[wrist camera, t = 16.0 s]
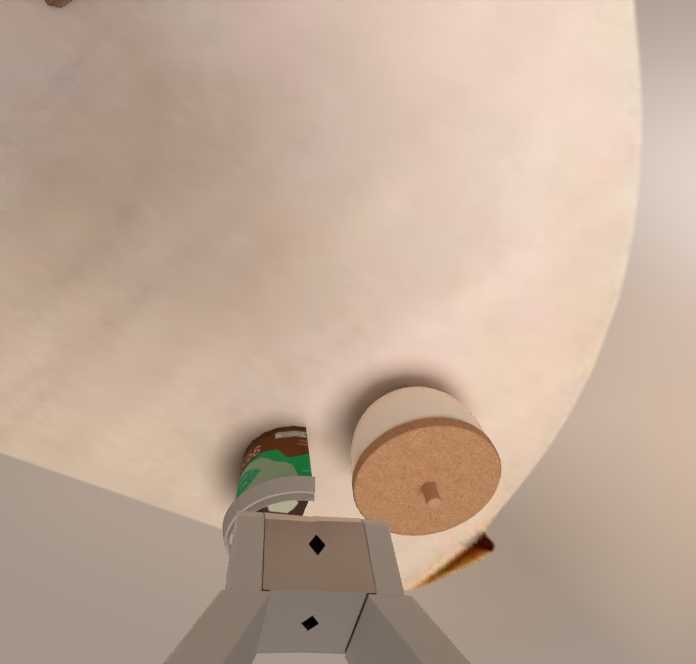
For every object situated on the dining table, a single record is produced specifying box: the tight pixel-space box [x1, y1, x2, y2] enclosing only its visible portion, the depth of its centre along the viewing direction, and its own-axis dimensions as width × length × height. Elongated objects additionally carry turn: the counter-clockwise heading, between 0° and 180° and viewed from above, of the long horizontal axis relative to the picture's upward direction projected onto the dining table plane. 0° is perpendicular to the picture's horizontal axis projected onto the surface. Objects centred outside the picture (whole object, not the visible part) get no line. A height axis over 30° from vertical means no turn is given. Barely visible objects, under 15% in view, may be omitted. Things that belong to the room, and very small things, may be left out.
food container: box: [223, 426, 315, 557], centre depth 45 cm, size 12×6×10 cm, turn 161°
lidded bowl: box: [351, 386, 501, 536], centre depth 44 cm, size 13×13×11 cm
